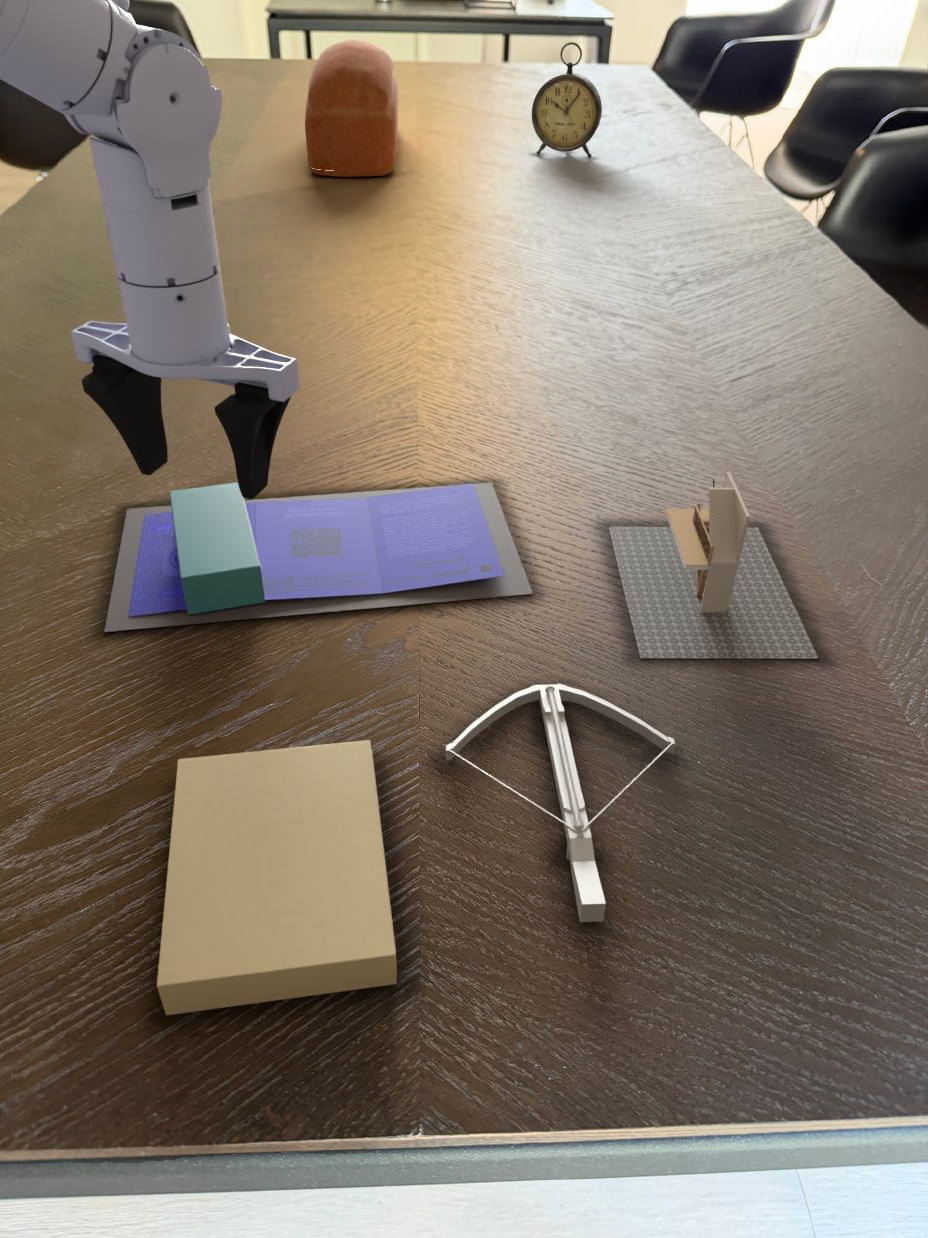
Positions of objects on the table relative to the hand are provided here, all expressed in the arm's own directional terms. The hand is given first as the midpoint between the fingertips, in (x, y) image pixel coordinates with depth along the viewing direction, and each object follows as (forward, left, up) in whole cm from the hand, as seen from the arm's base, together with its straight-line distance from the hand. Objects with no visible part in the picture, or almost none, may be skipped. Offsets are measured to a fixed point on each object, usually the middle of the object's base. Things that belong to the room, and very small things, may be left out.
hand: (204, 479), depth 63 cm
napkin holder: (+33, -7, -7) cm, 35 cm away
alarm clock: (+52, +111, -7) cm, 123 cm away
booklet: (+7, +1, -7) cm, 10 cm away
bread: (+18, +116, -7) cm, 118 cm away
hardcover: (+4, -27, -7) cm, 28 cm away
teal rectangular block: (0, 0, -7) cm, 7 cm away
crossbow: (+19, -24, -7) cm, 31 cm away
